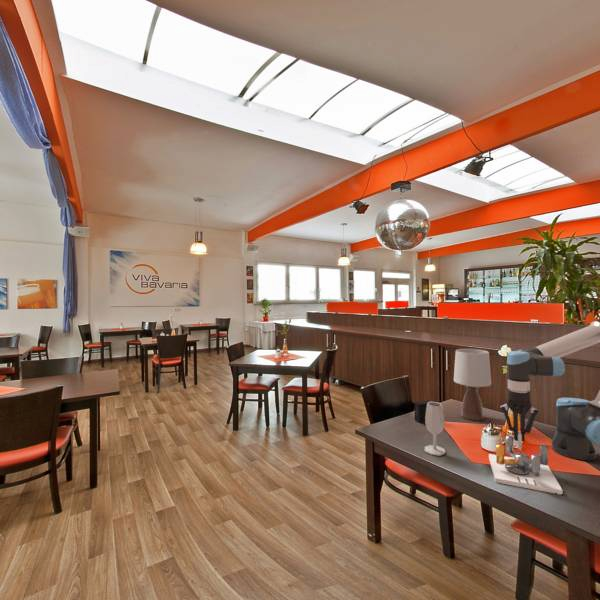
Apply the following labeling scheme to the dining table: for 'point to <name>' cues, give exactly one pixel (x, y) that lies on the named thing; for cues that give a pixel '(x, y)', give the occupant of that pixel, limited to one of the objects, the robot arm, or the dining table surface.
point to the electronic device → (420, 411)
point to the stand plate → (525, 477)
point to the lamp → (472, 379)
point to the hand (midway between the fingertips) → (519, 448)
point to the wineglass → (434, 426)
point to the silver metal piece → (521, 459)
